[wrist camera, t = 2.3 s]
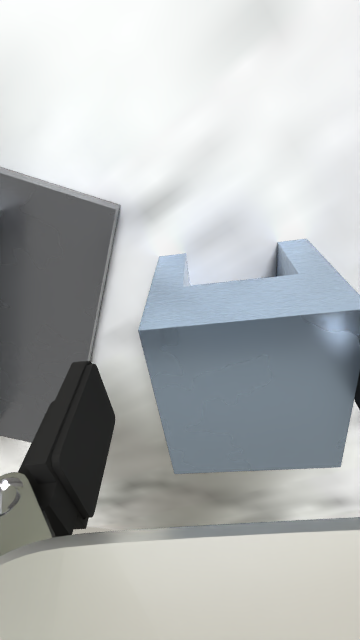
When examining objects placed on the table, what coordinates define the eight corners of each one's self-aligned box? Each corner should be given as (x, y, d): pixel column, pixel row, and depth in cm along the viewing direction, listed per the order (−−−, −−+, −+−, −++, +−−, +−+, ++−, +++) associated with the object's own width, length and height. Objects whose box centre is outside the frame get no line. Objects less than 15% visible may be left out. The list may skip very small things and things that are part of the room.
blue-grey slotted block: (306, 238, 14) (371, 308, 8) (297, 370, 17) (339, 473, 12) (159, 256, 14) (138, 330, 9) (182, 379, 18) (176, 479, 13)
